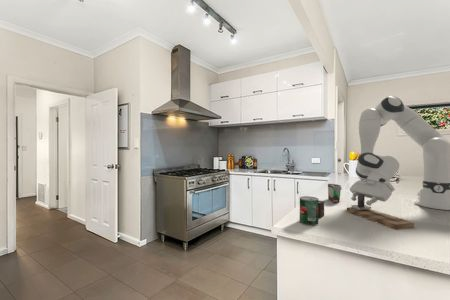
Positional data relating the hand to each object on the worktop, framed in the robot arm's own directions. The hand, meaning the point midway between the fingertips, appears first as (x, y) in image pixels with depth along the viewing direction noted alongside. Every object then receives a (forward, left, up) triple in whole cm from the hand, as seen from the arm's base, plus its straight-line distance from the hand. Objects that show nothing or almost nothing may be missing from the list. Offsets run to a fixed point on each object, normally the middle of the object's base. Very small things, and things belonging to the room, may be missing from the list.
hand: (360, 202), depth 113 cm
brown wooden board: (+5, +7, -6) cm, 11 cm away
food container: (-20, -15, -6) cm, 25 cm away
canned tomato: (+30, -17, -6) cm, 35 cm away
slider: (0, 0, -3) cm, 3 cm away
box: (+18, -17, -6) cm, 25 cm away
